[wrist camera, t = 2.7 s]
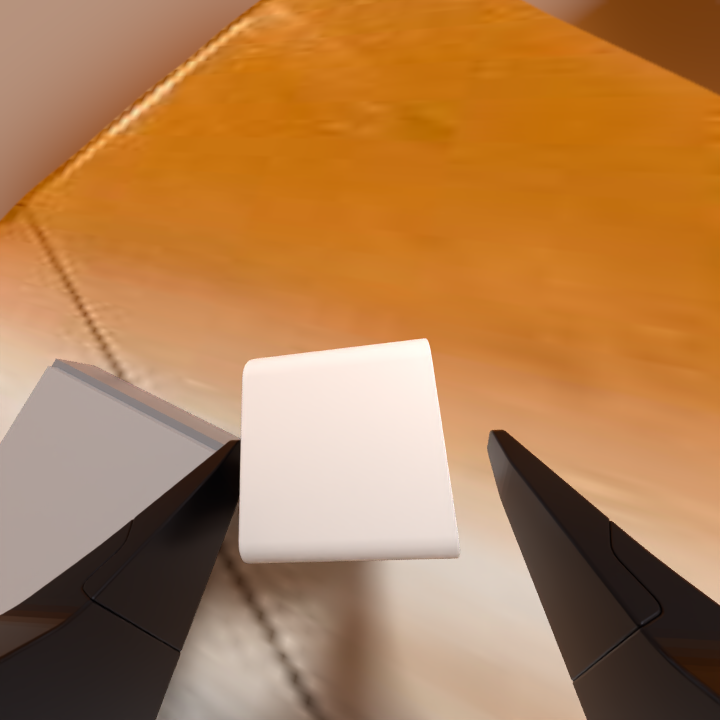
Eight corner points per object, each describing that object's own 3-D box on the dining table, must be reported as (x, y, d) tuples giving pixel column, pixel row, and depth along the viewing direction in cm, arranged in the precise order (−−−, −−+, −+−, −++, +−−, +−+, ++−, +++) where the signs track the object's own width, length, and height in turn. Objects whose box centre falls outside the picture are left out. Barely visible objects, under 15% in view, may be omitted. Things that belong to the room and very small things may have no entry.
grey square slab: (139, 712, 16) (80, 777, 13) (-27, 571, 19) (-102, 597, 16) (259, 448, 18) (233, 453, 15) (94, 365, 22) (47, 357, 19)
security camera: (322, 390, 19) (240, 354, 9) (425, 379, 18) (456, 328, 8) (327, 489, 17) (234, 575, 7) (440, 483, 16) (500, 570, 7)
